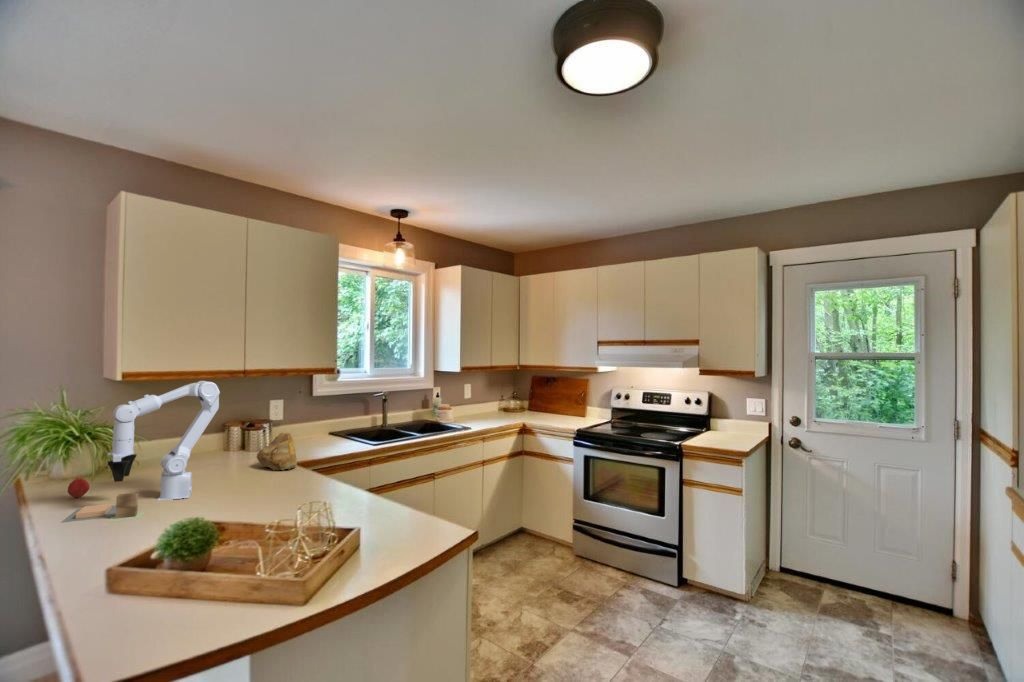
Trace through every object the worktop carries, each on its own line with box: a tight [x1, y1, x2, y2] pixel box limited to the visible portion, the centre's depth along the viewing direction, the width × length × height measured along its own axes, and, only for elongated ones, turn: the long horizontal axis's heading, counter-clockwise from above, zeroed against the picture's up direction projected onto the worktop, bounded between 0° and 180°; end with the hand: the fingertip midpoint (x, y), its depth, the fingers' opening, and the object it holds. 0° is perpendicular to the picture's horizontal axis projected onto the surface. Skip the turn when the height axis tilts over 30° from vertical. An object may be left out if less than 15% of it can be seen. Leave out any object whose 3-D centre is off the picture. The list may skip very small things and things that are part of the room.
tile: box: [76, 503, 113, 519], centre depth 154 cm, size 7×2×8 cm
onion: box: [67, 475, 90, 499], centre depth 171 cm, size 6×6×8 cm
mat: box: [60, 505, 116, 523], centre depth 155 cm, size 13×14×1 cm
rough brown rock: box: [256, 432, 298, 471], centre depth 224 cm, size 23×17×15 cm
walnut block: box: [115, 492, 139, 519], centre depth 152 cm, size 5×3×7 cm, turn 117°
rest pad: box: [107, 511, 145, 523], centre depth 152 cm, size 8×7×1 cm
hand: (121, 478), depth 164 cm, fingers open, 7 cm apart
